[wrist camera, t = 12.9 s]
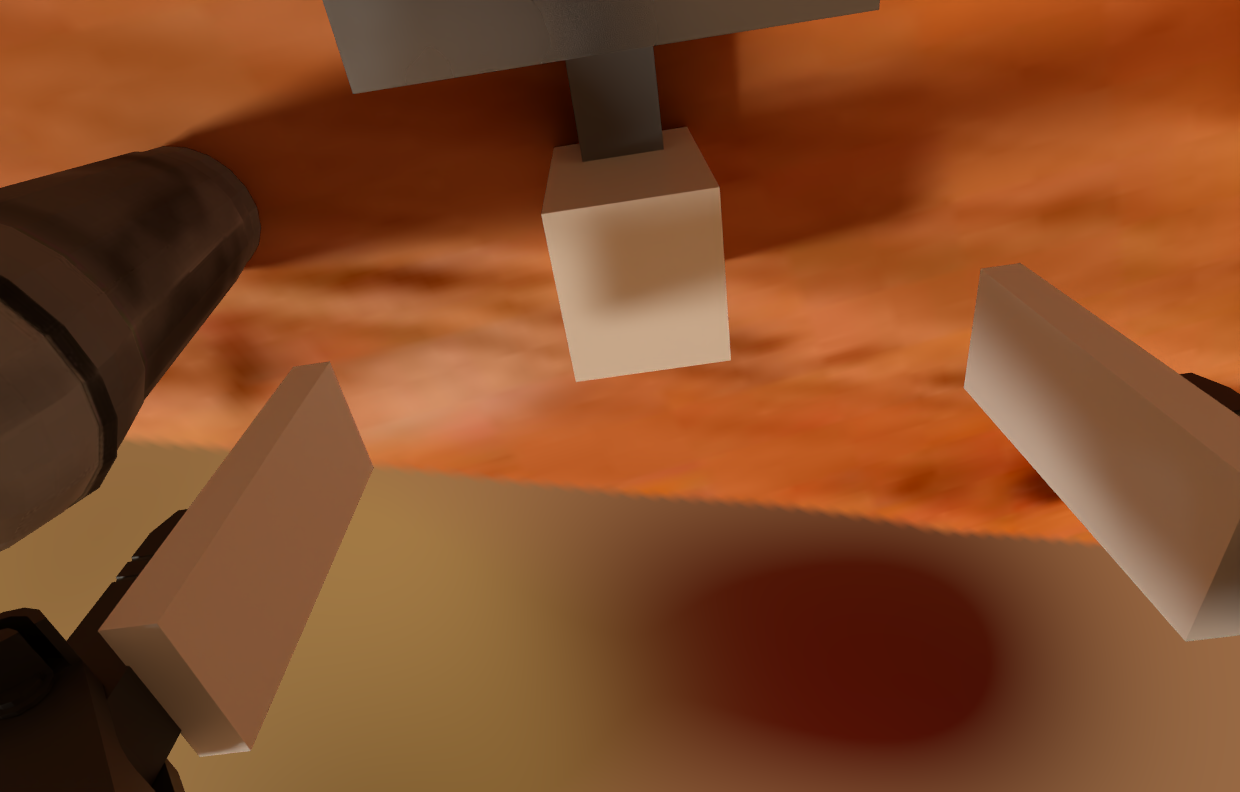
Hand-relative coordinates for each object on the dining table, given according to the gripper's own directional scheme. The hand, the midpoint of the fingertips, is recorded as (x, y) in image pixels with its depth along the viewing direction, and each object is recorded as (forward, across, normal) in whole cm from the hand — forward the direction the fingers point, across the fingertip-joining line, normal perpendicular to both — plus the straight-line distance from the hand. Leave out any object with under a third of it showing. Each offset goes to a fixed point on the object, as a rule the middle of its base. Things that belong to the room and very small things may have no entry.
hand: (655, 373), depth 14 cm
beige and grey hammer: (+12, 0, +5) cm, 13 cm away
